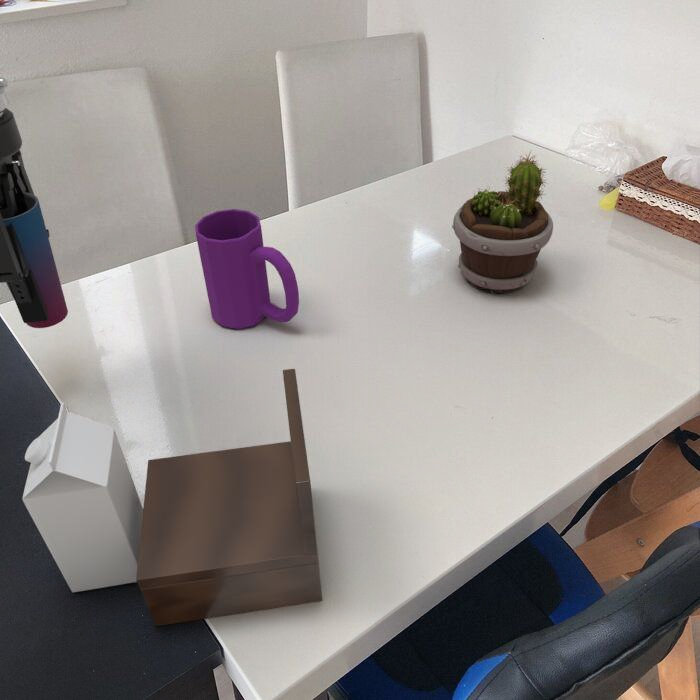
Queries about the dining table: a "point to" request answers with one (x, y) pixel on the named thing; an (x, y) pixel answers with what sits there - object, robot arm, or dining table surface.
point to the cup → (39, 260)
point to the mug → (242, 270)
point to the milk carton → (84, 502)
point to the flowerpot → (504, 231)
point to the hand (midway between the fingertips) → (42, 303)
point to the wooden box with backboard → (230, 529)
